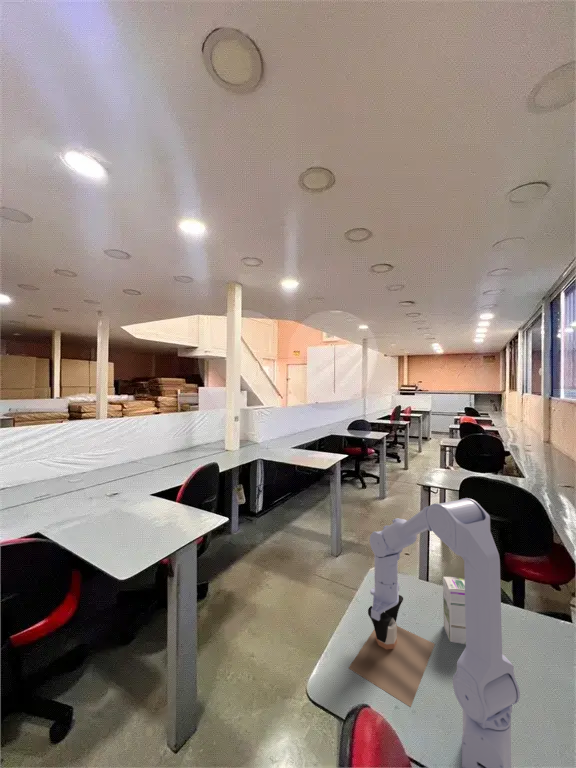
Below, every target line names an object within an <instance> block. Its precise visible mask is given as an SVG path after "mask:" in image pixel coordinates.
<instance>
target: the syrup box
mask: <svg viewBox="0 0 576 768" xmlns="http://www.w3.org/2000/svg"><path fill="white" fill-rule="evenodd" d="M442 597H443V599H442V600H443V627H444V631H445V632H446V636H447V638H448V640H449V642H452V643H456V644H462V645H466V623H465V578H461V577H455V576H442Z"/></svg>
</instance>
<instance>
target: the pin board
mask: <svg viewBox="0 0 576 768" xmlns="http://www.w3.org/2000/svg"><path fill="white" fill-rule="evenodd" d="M435 646H436V645H435V643H434V642H432V641H430V640H427V639H425V638H423V637H421V636H420V635H417V634H415V633H413V632H411V631H409V630H407V629H404V628H403V627H401V626H398V625H397V644H396V646H395V648H394V649H385V648H383V647H381V646H379V645H378V643H377V641H376V633H375V629H374V628H373V631H372V632H371V634H370V635H369V636H368V638H367V640H366V641H365V643H364V644H363V646H362V647H361V649H360V650H359V652H358V653H357V655H356V656H355V658H354V660H353V661H352V662H351V664H350V665H349V667H348V669H349V670H351V671H352V672H354V673H356V674H357V675H359V676H360V677H362V678H364V679H365V680H366V681H368V682H370V683H371V684H373V685H374V686H376V687H378V688H379V689H381V690H382V691H383V692H385V693H388V695H390V696H392V697H393V698H395V699H396V700H398V701H400V702H401V703H403V704H405V705H407V706H408V707H410V708H411V707H412V705H413V702H414V699H415V697H416V694H417V692H418V690H419V687H420V684H421V682H422V679H423V676H424V674H425V671H426V669H427V666H428V663H429V660H430V658H431V655H432V653H433V650H434V647H435Z"/></svg>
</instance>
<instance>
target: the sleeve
mask: <svg viewBox="0 0 576 768" xmlns="http://www.w3.org/2000/svg"><path fill="white" fill-rule="evenodd" d="M397 626H398V625H397V621H396V622H395V620H394V618H392V619H391V621H390V623H389V626H388V632H387V638H386V641H385V643H384V642H382V641H380V640H378V639H377V637H376V641H377V643H378V645H379V646H381V647H383V648H385V649H394V648H395V646H396V644H397Z"/></svg>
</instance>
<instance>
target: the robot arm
mask: <svg viewBox="0 0 576 768" xmlns="http://www.w3.org/2000/svg"><path fill="white" fill-rule="evenodd" d="M427 530H428V532H433V533H434V535H436V536H437V537H438V539H439V540H440V541H441V542H442V543H443V544H445V545H446V546H447V547H448V548H449V549H450V550H451V551H452V552H453V554H455V555H456V556H458V557H461V558H462V560H463V561H464V562H463V563H464V564H463V566H464V567H463V568H464V572H463V573H464V579H465V623H466V644H465V647H464V649H463V651H462V653H461V655H460V656H459V658H458V659H457V661H456V672H454V674H453V676H452V688H453V692H454V694H455V698H456V700H457V702H458V703H459V706H460V707H461V709H462V735H461V736H462V737H461V768H512V718H511V717H512V715H511V714H512V713H513V705H516V704H517V703H519V702H520V698H521V692H520V688H519V684H518V682H517V680H516V677H515V671H514V665H513V663H512V662H511V661H510V660H509V659H508V658H507V657H506V655H504V654H503V635H502V634H503V633H502V631H503V630H502V595H501V594H502V592H501V590H502V589H501V559H500V558H501V557H500V553H499V551H498V548H497V546H496V543H495V540H494V537H493V534H492V531H491V515H490V514H489V513H488V512H487V511H486V510H485V509H484V508H483V507H482V506H481V504H480V503H478V501H476V500H475V499H472V498H470V497H469V498H468V497H465V498H461V499H459V500H458V499H457V500H452V501H446V502H441V503H438V502H436V503H432V504H430V505H429V506H424V507H423V508H422V509H421V510H420V511H419V512H417V513H416V514H415V515H413V516H412V517H410V518H409V519H408V520H407V519H403V518H399V517H398V518H394V519H392V523H391V524H390V525H384V526H383V527H382V530H379V531H376V530H375V531H372V533H371V534H370V535H369V545H370V548H371V551H372V552H373V554H374V587H372V588H371V589H370V590H369V591H370V595H372V596H373V601H372V605H370V606H369V607H368V608H367V615H368V617H369V618H370V620H371V623H372V624H373V630H374V629H375V633H376V637H377V639H378V640H380V641H382V642H384V643H385V641H386V638H387V632H388V626H389V623H390V621H391V619H392V618H394V620H395V622H396V623H397V619H398V614H399V610H400V608H401V605H402V603H403V602H404V597H403V596H402V595H400V594H399V592H400V583H399V581H398V579H399V577H398V576H399V574H398V573H399V570H398V566H399V565H398V564H399V562H398V561H400V559H401V557H400V556H401V553H402V552H403V550H404V549H405V548H407V547H410V546H412V545H413V544H415V543H416V542H417V539H418V535H419V534H422V533H424V532H427Z"/></svg>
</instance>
